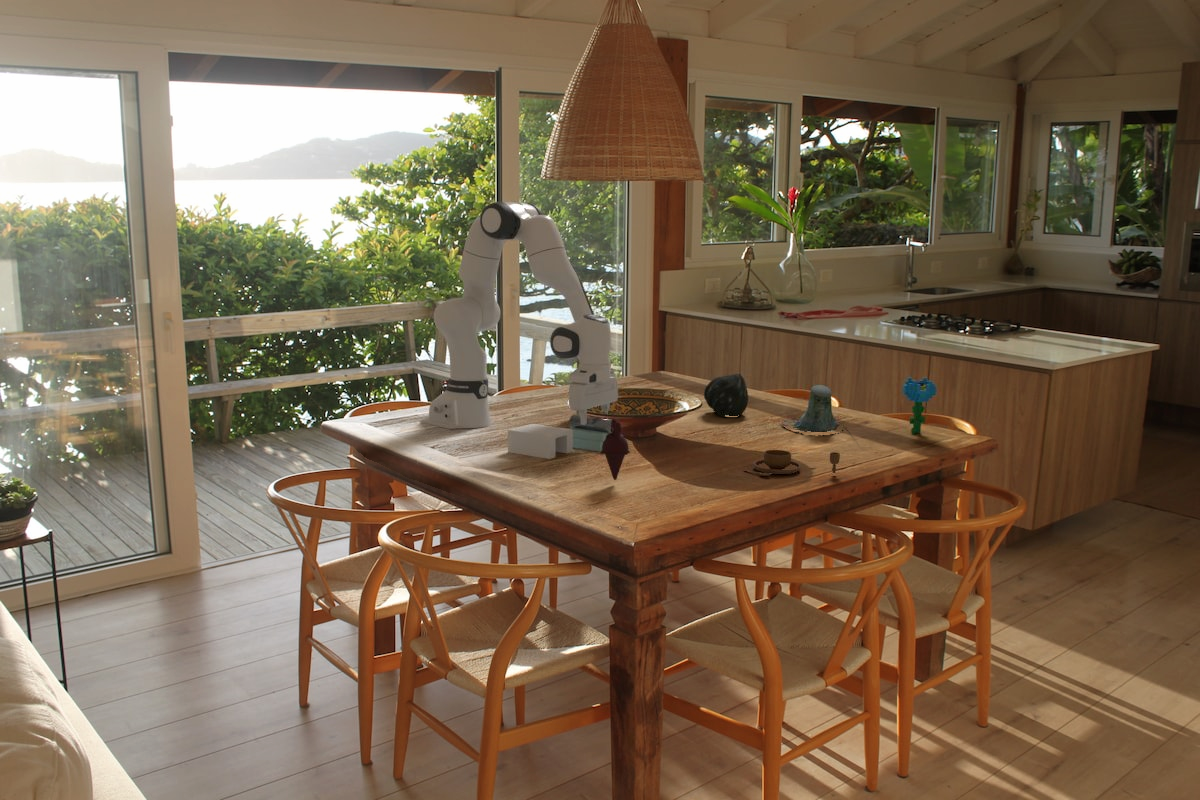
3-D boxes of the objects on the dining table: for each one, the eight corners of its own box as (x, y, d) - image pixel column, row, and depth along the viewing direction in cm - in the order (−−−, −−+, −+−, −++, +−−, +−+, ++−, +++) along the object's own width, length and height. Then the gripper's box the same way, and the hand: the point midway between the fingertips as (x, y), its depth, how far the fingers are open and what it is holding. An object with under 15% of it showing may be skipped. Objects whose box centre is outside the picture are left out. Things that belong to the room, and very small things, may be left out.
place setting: (780, 461, 277) (781, 440, 276) (842, 475, 263) (844, 453, 262) (737, 471, 266) (738, 449, 265) (800, 487, 251) (801, 463, 250)
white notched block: (507, 452, 282) (507, 429, 281) (531, 445, 291) (531, 423, 290) (549, 459, 274) (549, 436, 273) (572, 451, 283) (572, 429, 282)
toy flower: (927, 436, 309) (931, 377, 306) (935, 443, 300) (939, 382, 297) (897, 435, 310) (900, 376, 307) (904, 442, 301) (908, 381, 298)
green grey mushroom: (832, 421, 326) (846, 373, 316) (846, 459, 309) (860, 410, 300) (775, 417, 325) (787, 369, 315) (785, 455, 308) (798, 405, 298)
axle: (569, 429, 294) (569, 415, 293) (577, 426, 297) (577, 413, 296) (610, 435, 286) (610, 421, 285) (618, 432, 289) (618, 418, 289)
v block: (564, 446, 290) (564, 430, 290) (588, 438, 300) (588, 423, 300) (600, 451, 284) (600, 435, 283) (623, 444, 294) (623, 428, 293)
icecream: (597, 477, 256) (598, 417, 254) (626, 476, 257) (627, 416, 255) (602, 484, 249) (603, 423, 247) (632, 482, 251) (633, 422, 248)
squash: (740, 414, 340) (742, 369, 338) (753, 423, 326) (755, 376, 323) (698, 415, 339) (699, 370, 336) (709, 424, 324) (710, 377, 321)
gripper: (605, 368, 299) (604, 415, 301) (564, 376, 282) (564, 426, 284) (623, 370, 295) (623, 417, 298) (583, 378, 279) (583, 428, 281)
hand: (594, 421), depth 291 cm, fingers open, 8 cm apart
